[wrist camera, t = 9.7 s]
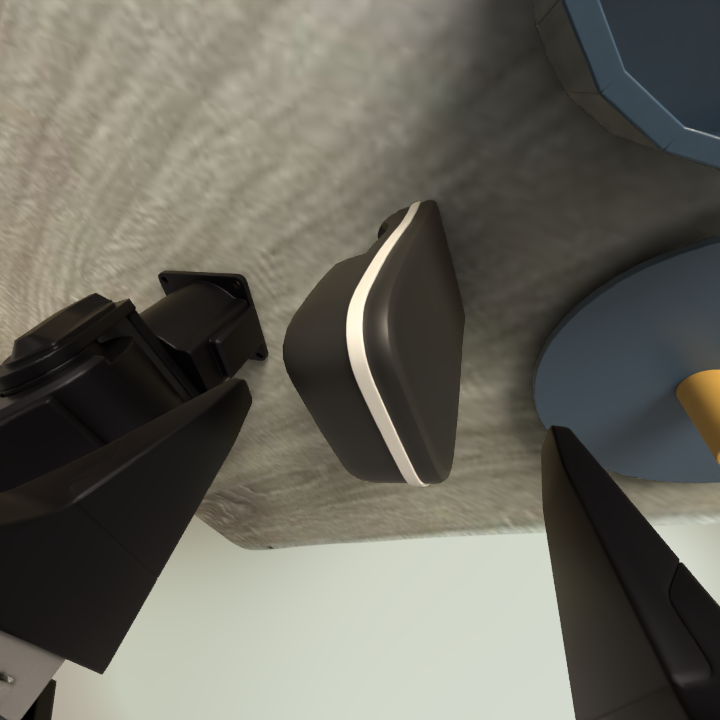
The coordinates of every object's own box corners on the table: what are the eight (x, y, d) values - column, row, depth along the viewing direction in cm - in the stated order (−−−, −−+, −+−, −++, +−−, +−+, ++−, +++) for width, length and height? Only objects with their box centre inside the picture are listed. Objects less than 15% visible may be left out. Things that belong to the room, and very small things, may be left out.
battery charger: (360, 216, 17) (236, 346, 9) (435, 189, 16) (374, 317, 7) (403, 331, 21) (344, 506, 12) (467, 319, 19) (453, 512, 10)
